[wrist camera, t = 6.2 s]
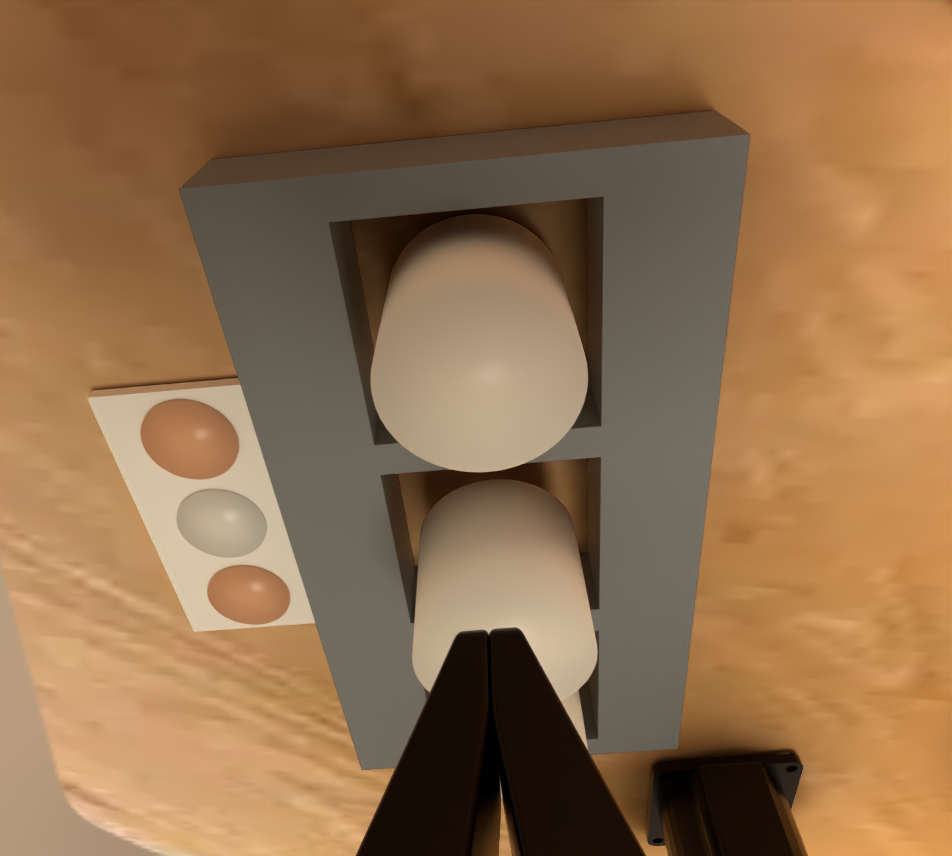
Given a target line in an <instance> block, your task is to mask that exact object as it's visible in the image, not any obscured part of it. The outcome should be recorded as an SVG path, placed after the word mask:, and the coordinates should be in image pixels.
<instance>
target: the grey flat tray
mask: <svg viewBox="0 0 952 856" xmlns="http://www.w3.org/2000/svg"><path fill="white" fill-rule="evenodd" d="M749 141H750V134H749V133H748V132H746V131H745V130H743V129H742V128H740V127H739V126H738V125H736V124H735V123H733V122H732V121H730V120H729V119H727V118H726V117H724V116H723V115H721V114H720V113H718V112H717V111H715V110H712V111H702V112H691V113H681V114H671V115H660V116H650V117H640V118H630V119H619V120H609V121H599V122H588V123H578V124H568V125H558V126H547V127H537V128H527V129H516V130H506V131H496V132H486V133H475V134H465V135H455V136H445V137H434V138H424V139H414V140H403V141H393V142H383V143H373V144H362V145H352V146H342V147H331V148H321V149H311V150H301V151H290V152H280V153H270V154H259V155H249V156H239V157H229V158H218V159H212V160H211V161H210V162H208V163H207V164H206V165H205V166H204V167H203V168H202V169H201V170H199V171H198V172H197V173H196V174H195V175H194V176H193V177H192V178H190V179H189V180H188V181H187V182H186V183H185V184H184V185H183V186H182V187H180V188H179V191H180V195H181V198H182V201H183V204H184V207H185V210H186V214H187V217H188V220H189V223H190V226H191V229H192V233H193V236H194V239H195V242H196V245H197V249H198V252H199V255H200V258H201V261H202V264H203V268H204V271H205V274H206V277H207V280H208V283H209V287H210V290H211V293H212V296H213V299H214V303H215V306H216V309H217V312H218V315H219V318H220V322H221V325H222V328H223V331H224V334H225V337H226V341H227V344H228V347H229V350H230V353H231V357H232V360H233V363H234V366H235V369H236V372H237V376H238V379H239V382H240V385H241V388H242V391H243V395H244V398H245V401H246V404H247V407H248V411H249V414H250V417H251V420H252V423H253V426H254V430H255V433H256V436H257V439H258V442H259V445H260V449H261V452H262V455H263V458H264V461H265V465H266V468H267V471H268V474H269V477H270V480H271V484H272V487H273V490H274V493H275V496H276V499H277V503H278V506H279V509H280V512H281V515H282V519H283V522H284V525H285V528H286V531H287V534H288V538H289V541H290V544H291V547H292V550H293V553H294V557H295V560H296V563H297V566H298V569H299V573H300V576H301V579H302V582H303V585H304V588H305V592H306V595H307V598H308V601H309V604H310V607H311V611H312V614H313V617H314V620H315V623H316V626H317V630H318V633H319V636H320V639H321V642H322V646H323V649H324V652H325V655H326V658H327V661H328V665H329V668H330V671H331V674H332V677H333V680H334V684H335V687H336V690H337V693H338V696H339V700H340V703H341V706H342V709H343V712H344V715H345V719H346V722H347V725H348V728H349V731H350V734H351V738H352V741H353V744H354V747H355V750H356V754H357V757H358V760H359V763H360V766H361V769H362V770H371V769H386V768H396V766H397V764H398V761H399V759H400V757H401V755H402V753H403V750H404V748H405V746H406V744H407V741H408V739H409V737H410V735H411V733H412V730H413V728H414V726H415V724H416V722H417V719H418V717H419V715H420V713H421V711H422V708H423V706H424V704H425V702H426V700H427V697H428V695H429V693H430V692H429V691H428V690H426V689H425V688H424V686H423V685H422V684H421V683H420V681H419V680H418V678H417V676H416V674H415V671H414V668H413V662H412V651H413V636H414V621H415V606H416V591H417V576H418V567H415V565H414V560H413V555H412V549H411V544H410V539H409V533H408V528H407V523H406V517H405V512H404V507H403V502H402V496H401V491H400V486H399V480H398V475H397V474H399V473H411V472H423V471H435V470H448V469H447V468H444V467H441V466H437V465H435V464H432V463H430V462H427V461H425V460H423V459H421V458H420V457H418V456H416V455H414V454H413V453H411V452H410V451H409V450H407V449H406V448H405V447H403V446H402V445H401V444H400V443H399V442H398V441H397V440H396V439H395V438H394V437H393V436H392V435H391V434H390V432H389V431H388V430H387V429H386V427H385V425H384V424H383V422H382V421H381V419H380V417H379V415H378V412H377V410H376V408H375V405H374V401H373V398H372V392H371V384H370V380H371V367H372V362H373V356H374V348H373V343H372V337H371V332H370V327H369V321H368V316H367V311H366V305H365V300H364V295H363V289H362V284H361V279H360V274H359V268H358V263H357V258H356V252H355V247H354V242H353V236H352V231H351V226H350V221H349V220H358V219H369V218H379V217H390V216H401V215H411V214H422V213H433V212H443V211H454V210H465V209H475V208H486V207H497V206H507V205H518V204H529V203H539V202H550V201H561V200H571V199H582V198H587V364H588V387H587V393H586V397H585V401H584V404H583V407H582V409H581V412H580V414H579V416H578V417H577V419H576V421H575V423H574V424H573V426H572V427H571V428H570V430H569V431H568V432H567V434H566V435H565V436H564V437H563V438H562V439H561V440H560V441H559V442H558V443H557V444H555V445H554V446H553V447H552V448H550V449H549V450H548V451H546V452H545V453H543V454H542V455H540V456H538V457H537V458H535V459H533V460H531V461H529V462H526V463H534V462H546V461H558V460H571V459H583V458H588V554H580V560H581V565H582V570H583V575H584V580H585V586H586V591H587V596H588V601H589V606H590V611H591V617H592V622H593V627H594V632H595V637H596V642H597V651H598V654H597V662H596V665H595V668H594V670H593V672H592V674H591V676H590V677H589V679H588V681H586V683H585V684H584V685H583V686H582V687H581V688H580V689H579V696H580V702H581V708H582V715H583V721H584V727H585V734H586V740H587V747H588V751H589V753H590V755H594V754H609V753H624V752H639V751H654V750H669V749H678V743H679V734H680V726H681V717H682V709H683V700H684V692H685V683H686V675H687V666H688V658H689V649H690V641H691V632H692V624H693V615H694V607H695V599H696V590H697V582H698V573H699V565H700V556H701V548H702V539H703V531H704V522H705V514H706V505H707V497H708V488H709V480H710V471H711V463H712V454H713V446H714V437H715V429H716V420H717V412H718V403H719V395H720V387H721V378H722V370H723V361H724V353H725V344H726V336H727V327H728V319H729V310H730V302H731V293H732V285H733V276H734V268H735V259H736V251H737V242H738V234H739V225H740V217H741V208H742V200H743V192H744V183H745V175H746V166H747V158H748V149H749Z"/></svg>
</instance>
